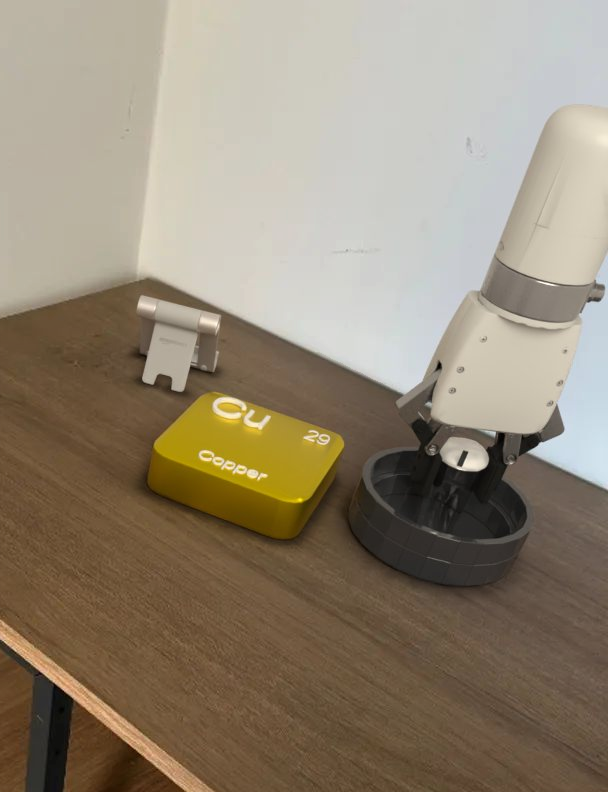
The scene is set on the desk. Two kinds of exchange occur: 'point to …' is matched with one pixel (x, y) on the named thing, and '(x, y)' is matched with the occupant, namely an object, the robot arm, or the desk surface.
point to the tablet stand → (176, 340)
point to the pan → (426, 548)
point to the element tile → (245, 464)
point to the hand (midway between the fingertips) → (449, 489)
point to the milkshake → (453, 484)
